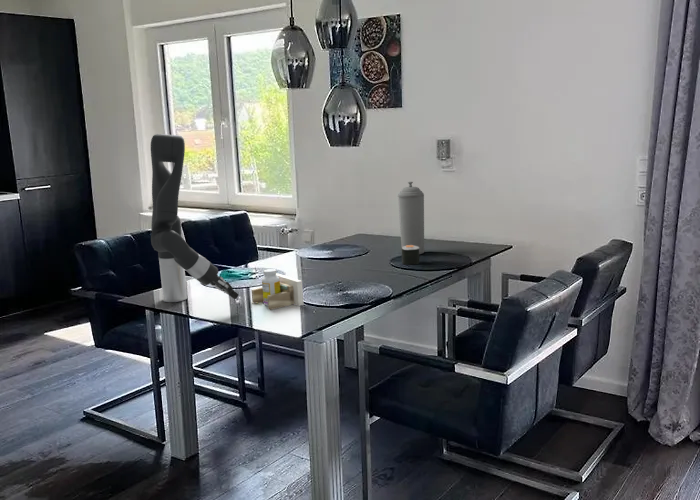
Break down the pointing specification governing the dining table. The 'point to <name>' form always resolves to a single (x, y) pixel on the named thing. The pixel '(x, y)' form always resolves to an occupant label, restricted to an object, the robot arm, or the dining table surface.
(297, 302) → the backstop board
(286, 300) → the cradle
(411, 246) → the sushi
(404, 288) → the dining table surface
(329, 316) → the dining table surface
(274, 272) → the supplement bottle
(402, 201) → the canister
